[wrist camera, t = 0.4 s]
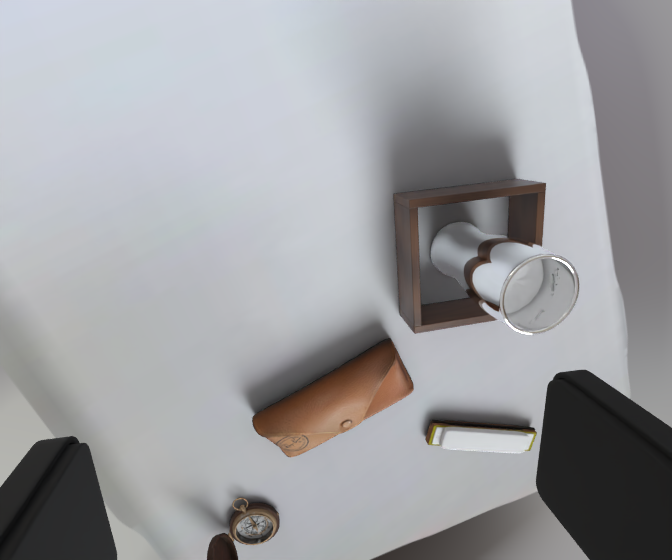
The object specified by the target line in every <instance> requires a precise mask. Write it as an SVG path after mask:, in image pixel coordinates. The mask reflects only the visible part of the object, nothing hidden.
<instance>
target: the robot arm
mask: <svg viewBox="0 0 672 560" xmlns="http://www.w3.org/2000/svg"><path fill="white" fill-rule="evenodd" d="M536 486H537V490H538V493H539V494H540V497H541V498H542V500H543V501H544V502H545V504H546V505H547V506H548V508H549V509H550V510H551V511H552V512H553V514H554V515H555V516H556V518H557V519H558V520H559V521H560V523H561V524H562V525H563V526H564V528H565V529H566V530H567V532H568V533H569V534H570V535H571V537H572V538H573V539H574V540H575V541H576V543H577V544H578V545H579V547H580V548H581V549H582V550H583V552H584V553H585V554H586V556H587V557H588V558H589V559H590V560H672V428H671V427H670V426H668V425H667V424H665V423H664V422H662V421H661V420H659V419H658V418H657V417H655V416H654V415H652V414H651V413H649V412H648V411H646V410H645V409H643V408H642V407H641V406H639V405H638V404H636V403H635V402H633V401H632V400H630V399H629V398H627V397H626V396H624V395H623V394H622V393H620V392H619V391H617V390H616V389H614V388H613V387H611V386H610V385H608V384H607V383H606V382H604V381H603V380H601V379H600V378H598V377H597V376H595V375H594V374H592V373H591V372H589V371H587V370H576V371H568V372H560V373H558V374H556V375H555V377H554V378H553V380H552V381H550V382H549V384H548V387H547V395H546V403H545V411H544V419H543V427H542V435H541V444H540V452H539V460H538V468H537V476H536ZM0 560H117V551H116V547H115V543H114V539H113V535H112V532H111V528H110V524H109V521H108V517H107V513H106V509H105V505H104V501H103V498H102V494H101V490H100V486H99V482H98V479H97V475H96V471H95V467H94V464H93V460H92V456H91V452H90V449H89V446H88V445H87V444H86V443H79V441H78V439H77V438H76V437H73V436H70V437H63V438H55V439H47V440H41V441H38V442H36V443H35V444H34V445H33V446H32V448H31V449H30V450H29V451H28V453H27V454H26V455H25V457H24V458H23V459H22V460H21V462H20V463H19V464H18V466H17V467H16V468H15V469H14V471H13V472H12V473H11V475H10V476H9V477H8V478H7V480H6V481H5V482H4V483H3V485H2V486H1V487H0Z"/></svg>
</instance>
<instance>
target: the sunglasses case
mask: <svg viewBox="0 0 672 560" xmlns="http://www.w3.org/2000/svg"><path fill="white" fill-rule="evenodd" d="M413 390H414V388H413V382H412V380H411V378H410V376H409V374H408V372H407V370H406V368H405V367H404V364H403V362H402V360H401V358H400V356H399V354H398V351H397V350H396V348H395V346H394V344H393V342H392V340H391V339H390V338H389V339H386V340H384V341H382V342H380V343H378V344H377V345H375V346H373V347H372V348H370V349H368V350H367V351H365V352H364V353H362V354H360V355H359V356H357V357H356V358H354V359H352V360H350V361H349V362H347V363H345V364H344V365H342V366H340V367H339V368H337V369H335V370H333V371H332V372H330V373H328V374H327V375H325V376H323V377H321V378H319V379H318V380H316V381H314V382H313V383H311V384H309V385H307V386H306V387H304V388H302V389H300V390H298V391H297V392H295V393H293V394H291V395H289V396H288V397H286V398H284V399H282V400H280V401H279V402H277V403H275V404H273V405H271V406H269V407H267V408H266V409H264V410H262V411H260V412H259V413H257V414H256V415H254V416H253V420H252V422H253V426H254V429H255V430H256V432H257V433H258V434H259V435H261V436H262V437H266V438H267V439H269V440H270V441H271V442H273V443H274V444H276V445H277V446H279V447H280V448H281V450H282V451H283V452H284V453H285V454H286V455H287V456H288V457H294V456H297V455H300V454H302V453H304V452H306V451H308V450H310V449H312V448H314V447H316V446H318V445H320V444H322V443H323V442H325V441H327V440H329V439H331V438H333V437H335V436H336V435H338V434H340V433H344V432H346V431H348V430H350V429H352V428H353V427H355V426H357V425H359V424H360V423H361V422H362V421H363V420H365V419H367V418H369V417H371V416H373V415H374V414H376V413H378V412H380V411H382V410H384V409H385V408H387V407H389V406H391V405H392V404H394V403H396V402H398V401H399V400H402V399H403V398H405V397H406V396H408V395H409V394H410V393H411V392H413Z"/></svg>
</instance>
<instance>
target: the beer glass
mask: <svg viewBox="0 0 672 560" xmlns="http://www.w3.org/2000/svg"><path fill="white" fill-rule="evenodd" d="M431 259H432V262H433V264H434V266H435V267H436V268H437V269H438V270H439V271H440V272H441V273H443V274H445V275H448V276H451V277H454V278H456V279H457V280H458V282H459V283H460V285H461V286H462V288H463V289H464V290H465V292H466V293H467V294H468V295H469V297H470V298H471V299H472V300H473V301H474V302H475V303H476V304H477V305H478V306H479V307H480V308H482V309H483V310H484V311H485V312H487V313H488V314H490V315H491V316H493V317H494V318H496V319H497V320H499V321H501V322H502V323H504V324H506V325H508V326H509V327H511V328H512V329H513V330H515V331H517V332H520V333H523V334H540V333H543V332H546V331H549V330H551V329H553V328H554V327H556V326H557V325H559V324H560V323H561V322H562V321H563V320H564V319H565V318H566V317H567V316H568V315H569V314H570V312H571V311H572V309H573V307H574V305H575V303H576V301H577V298H578V294H579V278H578V274H577V272H576V270H575V268H574V266H573V265H572V264H571V263H570V262H569V261H568V260H567V259H565V258H563V257H561V256H558V255H556V254H554V253H553V252H551V251H549V250H547V249H545V248H543V247H541V246H539V245H537V244H534V243H532V242H530V241H527V240H524V239H520V238H517V237H512V236H506V235H496V234H484V233H482V232H481V231H480V230H479V229H478V228H477V227H475V226H474V225H472V224H470V223H467V222H454V223H451V224H448V225H446V226H445V227H443V228H442V229H441V230H440V231H439V232H438V233H437V234H436V236H435V238H434V240H433V242H432V245H431Z"/></svg>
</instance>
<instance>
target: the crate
mask: <svg viewBox="0 0 672 560" xmlns="http://www.w3.org/2000/svg"><path fill="white" fill-rule="evenodd" d="M545 190H546V183H542V182H535V181H528V180H522V179H511V180H502V181H494V182H486V183H478V184H470V185H461V186H453V187H445V188H437V189H429V190H421V191H412V192H404V193H396V194H394V212H395V231H396V250H397V269H398V289H399V308H400V316H401V317H402V318H403V319H404V321H405V322H406V323H407V325H408V326H409V327H410V328H411V330H412V331H413V332H414V333H422V332H428V331H434V330H440V329H446V328H452V327H458V326H464V325H470V324H476V323H482V322H488V321H494V320H497V319H496V318H494V317H493V316H491V315H490V314H488V313H487V312H485V311H484V310H483V309H482V308H480V307H479V306H478V305H477V304H476V303H475V302H474V301H473V300H472V299H471V298H465V299H459V300H452V301H446V302H440V303H433V304H427V305H421V295H420V265H419V236H418V207H426V206H434V205H442V204H450V203H457V202H465V201H473V200H481V199H489V198H497V197H505V196H509V221H508V236H512V237H517V238H520V239H524V240H527V241H530V242H532V243H534V244H537V245H539V246H541V247H542V238H543V222H544V206H545Z"/></svg>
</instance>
